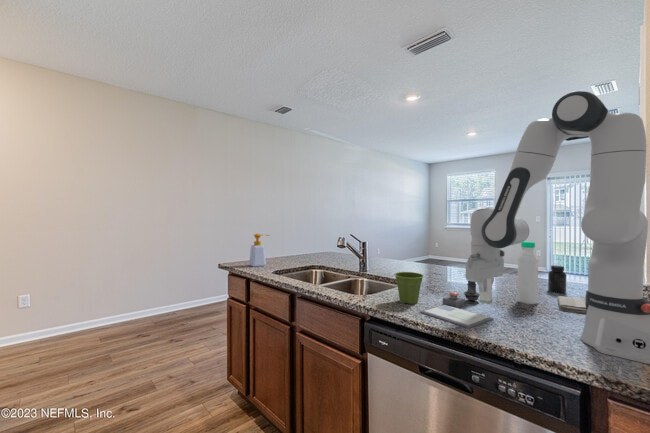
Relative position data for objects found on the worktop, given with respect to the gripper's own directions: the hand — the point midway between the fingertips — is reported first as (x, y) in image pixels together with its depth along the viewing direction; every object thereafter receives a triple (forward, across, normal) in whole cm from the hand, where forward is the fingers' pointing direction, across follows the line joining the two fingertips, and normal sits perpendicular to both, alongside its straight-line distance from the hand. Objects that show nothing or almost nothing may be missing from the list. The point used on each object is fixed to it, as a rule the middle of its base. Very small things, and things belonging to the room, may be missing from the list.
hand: (485, 290), depth 111 cm
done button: (+7, +1, +13) cm, 15 cm away
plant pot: (+8, -11, +26) cm, 29 cm away
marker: (+4, 0, 0) cm, 4 cm away
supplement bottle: (+9, +60, -2) cm, 61 cm away
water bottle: (+9, +29, -2) cm, 30 cm away
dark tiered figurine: (+8, +10, +11) cm, 17 cm away
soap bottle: (+3, -27, +143) cm, 146 cm away
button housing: (+8, 0, +13) cm, 15 cm away
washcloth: (+10, +38, -16) cm, 42 cm away
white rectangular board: (+8, -11, +5) cm, 15 cm away
